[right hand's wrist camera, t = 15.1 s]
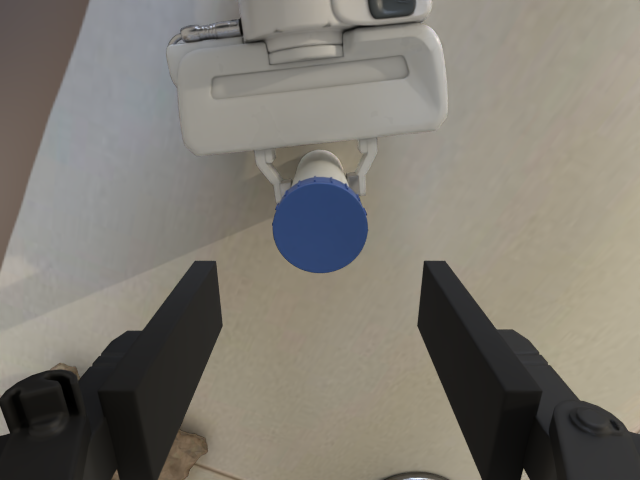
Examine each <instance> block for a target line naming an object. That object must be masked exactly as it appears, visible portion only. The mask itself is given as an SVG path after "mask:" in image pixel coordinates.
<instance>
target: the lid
mask: <svg viewBox="0 0 640 480" xmlns="http://www.w3.org/2000/svg"><path fill="white" fill-rule="evenodd" d="M275 210H276V213H275V216H274V220H273V223H272V226H273V236H274V240H275V243H276V246H277V248H278V250H279V251H280V253H281V254H282V255H283V257H284V258H285V259H286V260H287V261H288V262H290V263H291V264H292V265H294V266H296V267H297V268H299V269H302V270H304V271H308V272H313V273H328V272H332V271H336V270H339V269H341V268H343V267H345V266H347V265H348V264H349V263H351V262H352V261H353V260H354V259H355V258H356V257H357V256H358V255H359V253H360V252H361V250H362V248H363V246H364V244H365V241H366V238H367V233H368V224H367V218H366V216H367V213H366V211H365V208H363V207H362V204H361V202H360V198H359V196H358V194H355V192H354V191H353V190H352V189H351V188H350V187H348V185H347V184H346V183H345V184H344V183H342V182H341V181H338V180H336V179H332V177H330V178H328V177H316V176H314V177H312V178H308V179H305V180H302V181H300V180H299V181H298V183H296V184H295V185H293V186H292V187H291V188H290V189H289V190H286V191H285V194H284V196H283V197H282V199H281V201H280V203H278V204H277V206H276V209H275Z"/></svg>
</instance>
